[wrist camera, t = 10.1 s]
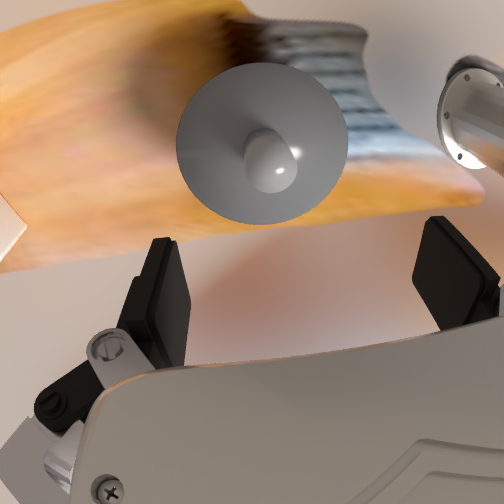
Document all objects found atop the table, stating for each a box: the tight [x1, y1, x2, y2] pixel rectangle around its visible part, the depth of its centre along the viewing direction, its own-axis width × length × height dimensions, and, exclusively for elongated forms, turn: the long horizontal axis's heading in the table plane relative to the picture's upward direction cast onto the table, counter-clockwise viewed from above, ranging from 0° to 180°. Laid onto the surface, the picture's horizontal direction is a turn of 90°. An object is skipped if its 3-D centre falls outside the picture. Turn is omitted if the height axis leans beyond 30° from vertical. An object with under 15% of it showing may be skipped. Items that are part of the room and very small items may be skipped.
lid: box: [176, 63, 348, 225], centre depth 22 cm, size 13×13×6 cm
